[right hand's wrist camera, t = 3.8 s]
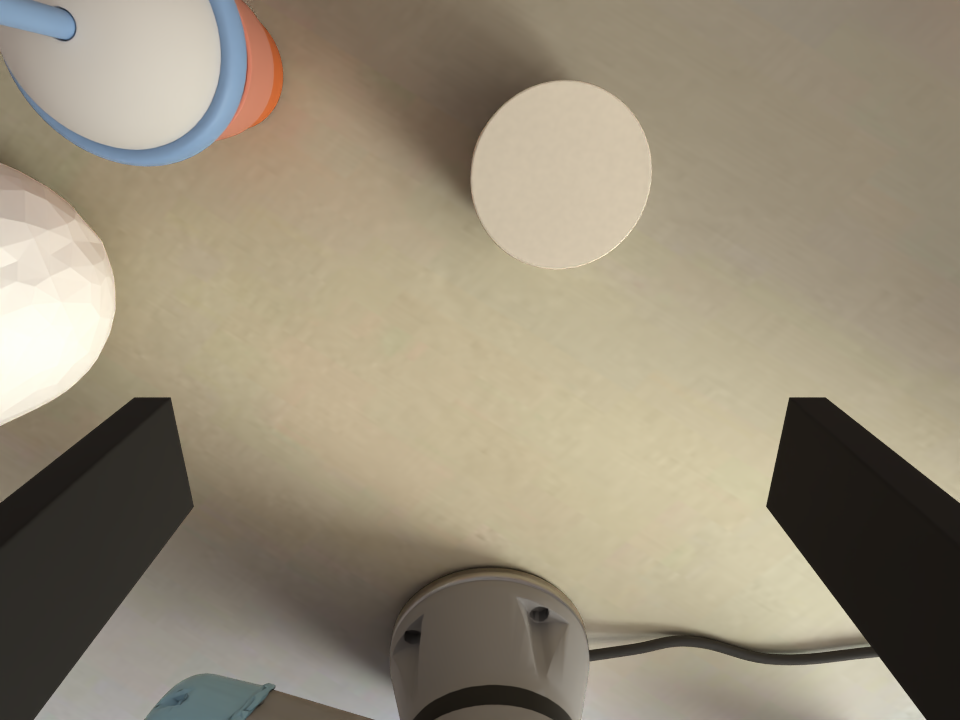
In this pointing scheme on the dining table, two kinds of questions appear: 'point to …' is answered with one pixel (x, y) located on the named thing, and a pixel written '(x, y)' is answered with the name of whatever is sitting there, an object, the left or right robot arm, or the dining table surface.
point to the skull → (47, 295)
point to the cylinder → (560, 174)
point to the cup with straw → (142, 72)
